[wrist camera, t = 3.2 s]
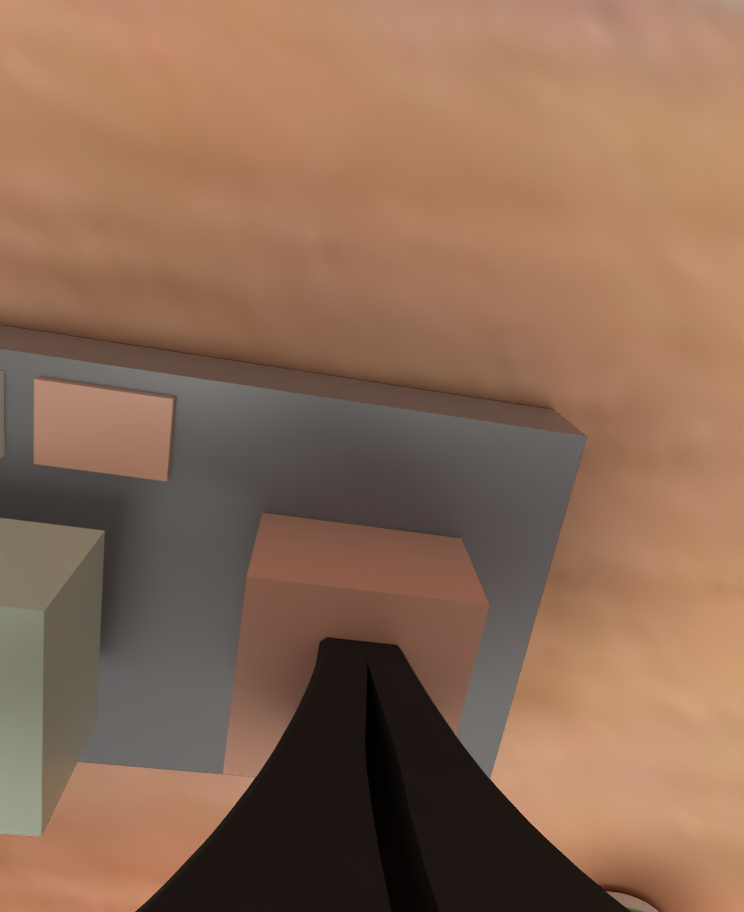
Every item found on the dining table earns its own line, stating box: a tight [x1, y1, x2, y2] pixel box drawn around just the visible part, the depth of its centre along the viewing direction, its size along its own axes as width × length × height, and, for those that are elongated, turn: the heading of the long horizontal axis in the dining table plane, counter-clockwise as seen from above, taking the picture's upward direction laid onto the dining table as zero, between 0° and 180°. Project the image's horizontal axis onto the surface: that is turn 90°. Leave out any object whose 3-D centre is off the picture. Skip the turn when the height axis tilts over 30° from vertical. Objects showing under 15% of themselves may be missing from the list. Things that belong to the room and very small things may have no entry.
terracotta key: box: [223, 513, 489, 777], centre depth 12 cm, size 4×4×2 cm
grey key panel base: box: [0, 325, 587, 779], centre depth 14 cm, size 21×9×2 cm, turn 80°
